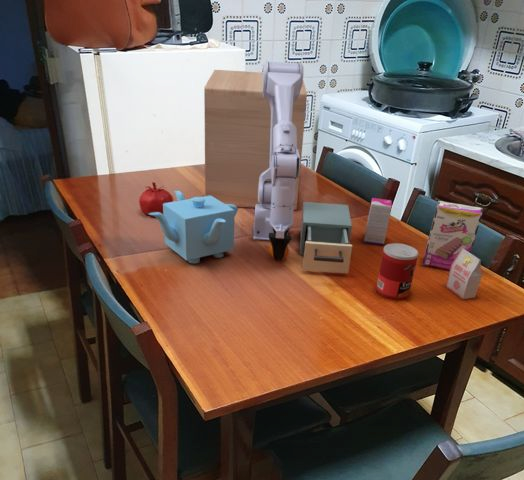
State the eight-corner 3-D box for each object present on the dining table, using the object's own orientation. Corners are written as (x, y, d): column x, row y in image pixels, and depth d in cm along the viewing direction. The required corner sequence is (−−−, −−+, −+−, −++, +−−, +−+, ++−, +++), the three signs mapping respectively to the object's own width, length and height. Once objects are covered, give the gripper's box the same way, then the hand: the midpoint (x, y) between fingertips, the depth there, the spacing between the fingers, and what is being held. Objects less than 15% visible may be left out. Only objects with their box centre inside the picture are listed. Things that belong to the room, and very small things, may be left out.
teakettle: (240, 243, 150) (241, 190, 142) (224, 273, 135) (225, 215, 127) (173, 235, 153) (171, 183, 144) (151, 263, 137) (147, 206, 129)
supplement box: (384, 245, 154) (392, 206, 148) (363, 243, 155) (370, 203, 149) (384, 238, 159) (392, 199, 152) (364, 235, 160) (370, 197, 153)
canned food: (402, 303, 127) (412, 260, 121) (370, 293, 130) (378, 250, 124) (413, 291, 132) (423, 249, 126) (382, 281, 136) (390, 240, 130)
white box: (457, 284, 137) (468, 247, 131) (475, 297, 132) (487, 259, 126) (445, 286, 136) (455, 248, 130) (462, 299, 130) (473, 260, 125)
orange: (268, 262, 142) (269, 243, 139) (269, 254, 146) (270, 235, 143) (287, 263, 141) (289, 245, 138) (288, 255, 146) (289, 237, 143)
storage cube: (296, 210, 174) (307, 93, 154) (205, 205, 173) (204, 87, 153) (292, 177, 202) (301, 74, 182) (214, 173, 201) (214, 69, 182)
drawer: (349, 283, 132) (353, 255, 128) (302, 279, 132) (305, 251, 128) (344, 249, 148) (348, 224, 144) (302, 246, 149) (305, 220, 145)
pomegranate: (164, 221, 161) (162, 190, 155) (134, 215, 163) (131, 184, 158) (179, 210, 169) (178, 180, 163) (149, 205, 171) (147, 175, 166)
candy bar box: (421, 266, 144) (436, 205, 135) (423, 258, 148) (437, 199, 139) (465, 274, 142) (483, 213, 132) (465, 266, 146) (483, 206, 136)
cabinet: (347, 258, 146) (352, 225, 141) (300, 254, 146) (303, 222, 141) (343, 235, 159) (347, 204, 154) (300, 232, 159) (303, 201, 154)
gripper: (268, 192, 141) (265, 241, 149) (264, 212, 129) (261, 264, 137) (295, 194, 141) (291, 243, 149) (294, 214, 129) (289, 266, 137)
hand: (278, 253), depth 143 cm, fingers open, 7 cm apart
